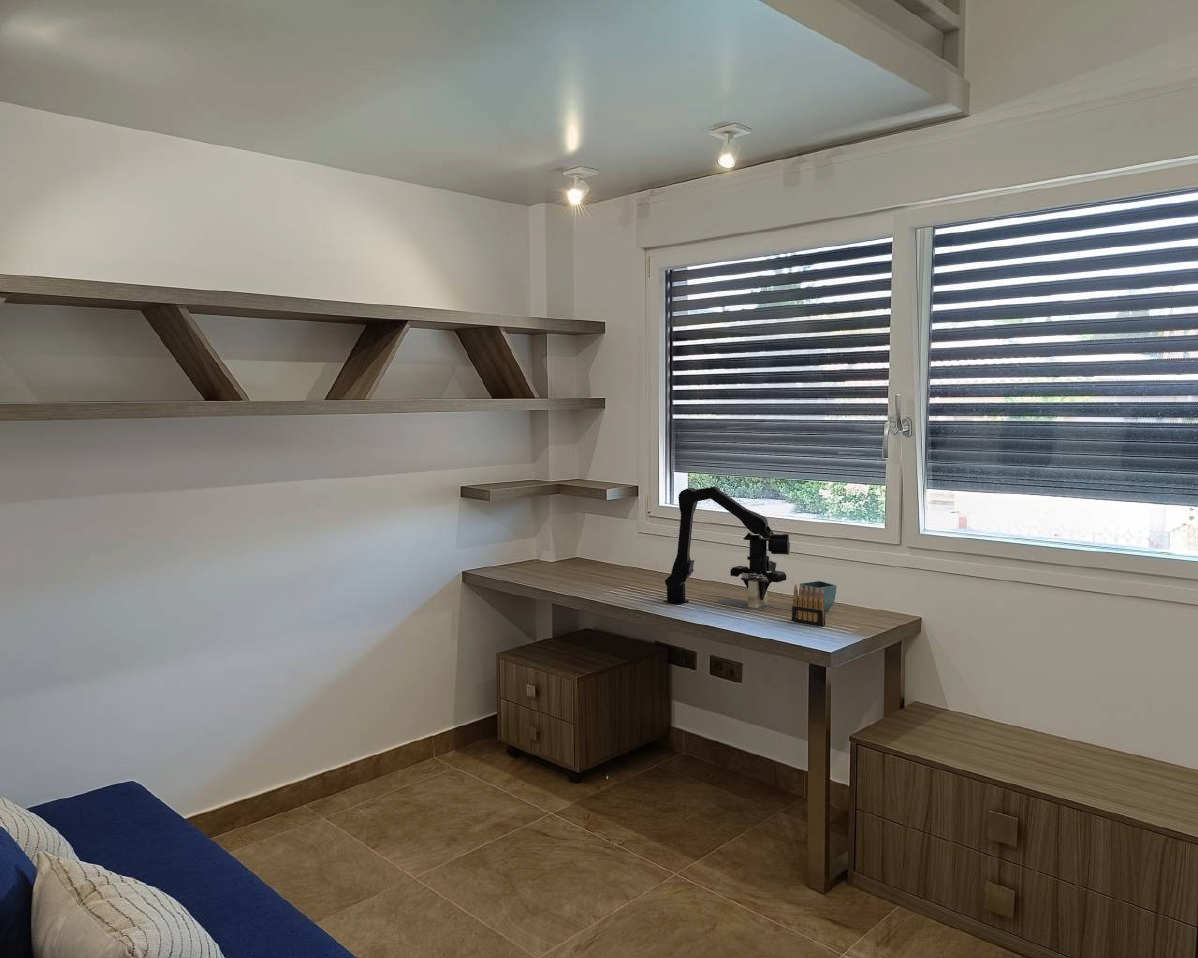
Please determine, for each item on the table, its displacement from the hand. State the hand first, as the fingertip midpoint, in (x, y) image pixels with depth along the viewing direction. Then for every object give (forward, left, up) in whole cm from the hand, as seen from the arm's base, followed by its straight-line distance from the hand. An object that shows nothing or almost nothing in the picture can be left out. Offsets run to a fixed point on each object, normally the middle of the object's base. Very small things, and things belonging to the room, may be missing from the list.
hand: (757, 599), depth 308 cm
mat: (0, +5, -3) cm, 6 cm away
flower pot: (+8, -18, -3) cm, 20 cm away
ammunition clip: (-9, -24, -3) cm, 26 cm away
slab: (0, 0, -2) cm, 2 cm away
